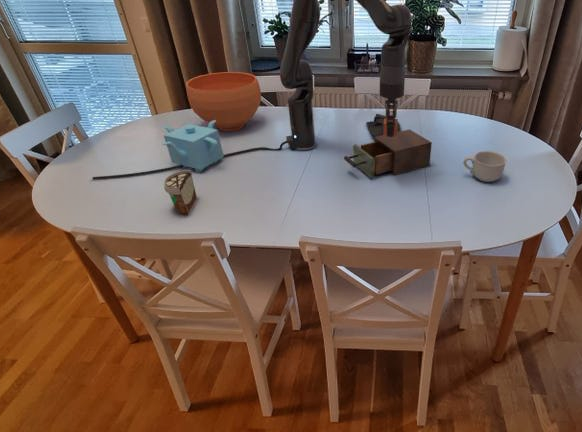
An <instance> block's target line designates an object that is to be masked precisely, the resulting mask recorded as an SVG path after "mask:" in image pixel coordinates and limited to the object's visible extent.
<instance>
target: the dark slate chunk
mask: <svg viewBox="0 0 582 432" xmlns="http://www.w3.org/2000/svg"><path fill="white" fill-rule="evenodd" d="M385 116H386V115H384V114H380V113H376V114H375V116H374V118H373V120H371V121H366V123H365V124H366V126H367V129H368V130H369V133H370V134H371V136H372V137H373V138H374V137H377V136H382V135H384V119H387V118H386V117H385ZM400 131H402V128H401V125H400V122H399V121H398V128H397V132H400Z"/></svg>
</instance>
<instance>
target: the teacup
mask: <svg viewBox="0 0 582 432" xmlns="http://www.w3.org/2000/svg"><path fill="white" fill-rule="evenodd" d="M468 161H471V163H472V166H470V165H468V164H467V163H468ZM462 162H463V163H462V164H463V166H464V168H466V169H467V170H469V172H470V173H471V174H473V176H474V177H475V178H476V179H478V180H479V181H481V182H483V183H484V182H485V183H492V182H495V181H497V180H499V179H500V178H502V176H503V173H504V171H505V166H506V163H507V158H506V157H505V156H504V155H503V154H502V153H499V152H496V151H491V150H481V151H478V152H475V154H474V156H466V157H465V158H464V159H463V161H462Z"/></svg>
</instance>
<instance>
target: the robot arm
mask: <svg viewBox="0 0 582 432" xmlns="http://www.w3.org/2000/svg"><path fill="white" fill-rule="evenodd" d="M355 2H357V3H358V4H359V6H361V8H362V9H364V10H365V11H366V12H367V14H368V16H369V18H370V19H371V21H372V22H373V24H374V26H375V27H376V29H377V30H378V31H380V33H382V34H384V35H388V39H387V40H386V41H385V42H384V43H383V44H382V45H381V50H380V68H379V96H380V97H382V98H383V99H385V100H384V109H385V115H384V116H385V117H386V118H387V123H386V125H387V137H393V136H394V126H395V119H397V112H398V106H399V100H397V99H400V98H403V97H404V95H405V84H406V83H405V82H406V68H405V67H406V65H405V63H406V48H407V45H408V41H409V38H410V34H411V30H412V25H413V19H412V13H411V11H410V9H409V7H408V6H407V5H405V4H401V3H400V4H399V3H398V4H392V5H390V4H388V3H387V0H355ZM290 11H291V12H290V18H289V27H288V32H287V33H288V34H287V40H286V43H285V44H286V45H285V49H284V52H283V57H282V60H281V63H280V68H279V78H280V82H281V85H282V86H283V87H284V88H285V89H286V90H294V92H293V93H291V94H290V96H288V98H287V105H288V114H289V124H290V135H286V136H285V138H286V140H285V141H283V142H281V143H280V145H279V147H278V148H270V147H267V146H266V147H265V146H264V147H263V146H261V147H253V148H248V149H242V150H238V151H233V152H229V153H225V154H223V155H224V157H223V158H225V157H230V156H233V155H234V156H235V155H240V154H244V153H248V152H252V151H253V152H254V151H260V150H263V151H264V150H265V151H275V152H276V151H277V152H278V151H280V150H282V148H283V146H284V145H286V144H288V147H292V148H293V151H311V150H312V149H315V148H316V146H317V142H316V141H317V140H316V133H315V132H316V131H315V119H314V108H313V106H314V105H313V99H314V75H313V69H312V66H311V65H310V63H309V62H308V61H307V60H305V59H301V58H302V56H303V54H304V53H305V52H306V50H307V49H308V48H309V46H310V45H311V43H312V42H313V40H314V38H315V37H316V35H317V32H318V30H319V29H318V28H319V24H320V21H321V20H320V19H321V6H320V3H319V0H293V1H292V6H291V10H290ZM389 120H393V122H388V121H389ZM183 166H184V165H180V164H177V165H174V166H169V167H163V168H158V169H153V170H147V171H146V170H145V171H142V172H141V171H139V172H132V173H124V174H123V173H121V174H114V175H101V176H100V175H99V176H92V180H104V179H105V180H106V179H116V178H127V177H135V176H142V175H149V174H154V173H160V172H165V171H171V170H176V169H180V168H181V167H183Z"/></svg>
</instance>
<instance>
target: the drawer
mask: <svg viewBox="0 0 582 432" xmlns="http://www.w3.org/2000/svg"><path fill="white" fill-rule="evenodd" d="M352 153H353V155H349V156H348V155H344V157H343V160H344V161H345V162H347V163H348V164H349V165H350V166H351V167H352V168H354V169H355V168H358V169H359V170H361V171H362V172H363V173H364V174H365V175H366V176H368V177H369V179H373V178H374V175H379V174H383V173H387V172H389V171H391V170H393V152H392V151H390V150H389V149H387V148H386V147H384V146H383V145H382V144H380V143H379V142H377V141H376V142H374V141H373V142H367V143H363V144H360V146H358V144H353V145H352ZM352 159H353V160H352Z"/></svg>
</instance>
